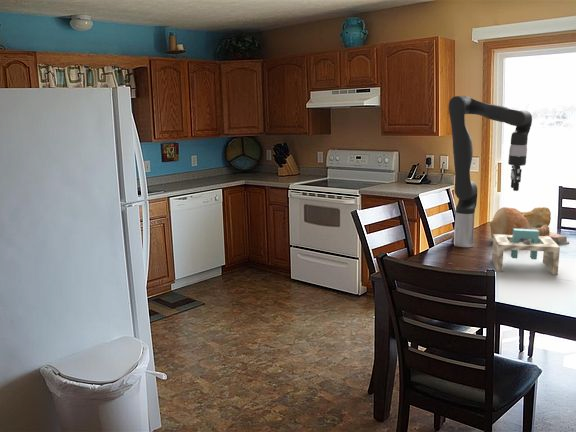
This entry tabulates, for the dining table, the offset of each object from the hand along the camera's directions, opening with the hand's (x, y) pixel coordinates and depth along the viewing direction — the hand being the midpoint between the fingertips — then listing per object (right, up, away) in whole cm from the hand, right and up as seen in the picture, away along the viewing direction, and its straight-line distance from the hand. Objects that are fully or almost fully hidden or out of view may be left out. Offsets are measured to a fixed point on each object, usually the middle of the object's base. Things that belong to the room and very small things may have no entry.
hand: (514, 189), depth 259 cm
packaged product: (+32, -26, +33) cm, 53 cm away
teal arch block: (-2, -31, -14) cm, 34 cm away
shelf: (-2, -35, -13) cm, 37 cm away
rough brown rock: (+30, -21, +55) cm, 66 cm away
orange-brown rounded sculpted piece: (+13, -27, +28) cm, 41 cm away
